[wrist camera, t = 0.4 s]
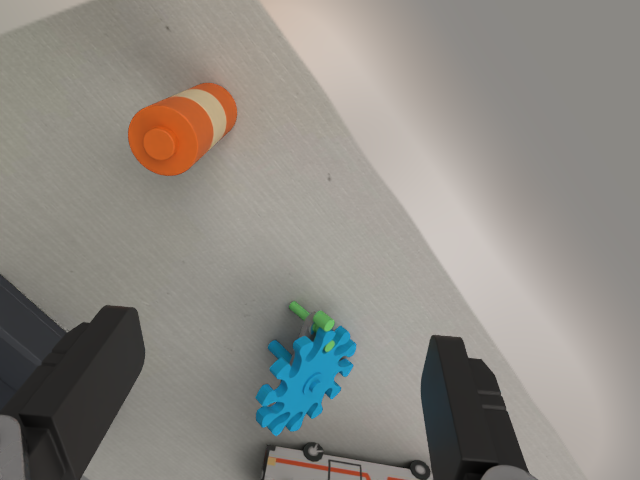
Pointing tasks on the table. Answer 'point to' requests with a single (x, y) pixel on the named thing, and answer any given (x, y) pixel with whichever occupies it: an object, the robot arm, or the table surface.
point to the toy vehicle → (332, 467)
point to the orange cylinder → (181, 128)
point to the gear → (305, 372)
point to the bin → (22, 339)
